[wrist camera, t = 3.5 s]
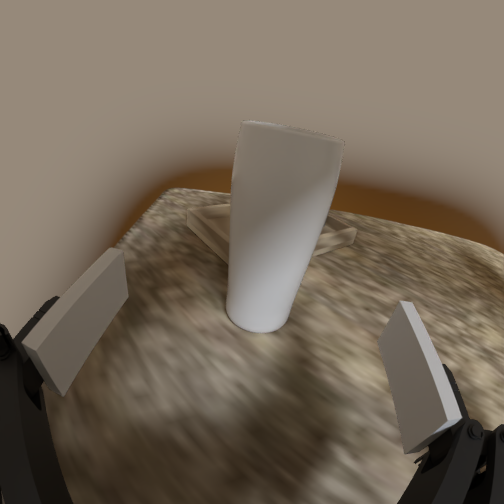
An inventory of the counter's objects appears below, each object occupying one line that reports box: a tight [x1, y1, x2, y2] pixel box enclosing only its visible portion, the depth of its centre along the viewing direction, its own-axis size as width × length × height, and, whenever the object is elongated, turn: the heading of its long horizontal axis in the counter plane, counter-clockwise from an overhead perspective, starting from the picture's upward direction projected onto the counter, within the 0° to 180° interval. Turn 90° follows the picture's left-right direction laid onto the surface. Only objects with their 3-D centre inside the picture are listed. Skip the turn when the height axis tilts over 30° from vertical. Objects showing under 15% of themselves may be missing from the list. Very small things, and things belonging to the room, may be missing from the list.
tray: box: [186, 203, 357, 264], centre depth 37 cm, size 20×13×2 cm, turn 126°
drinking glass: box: [226, 120, 345, 333], centre depth 20 cm, size 7×7×15 cm
